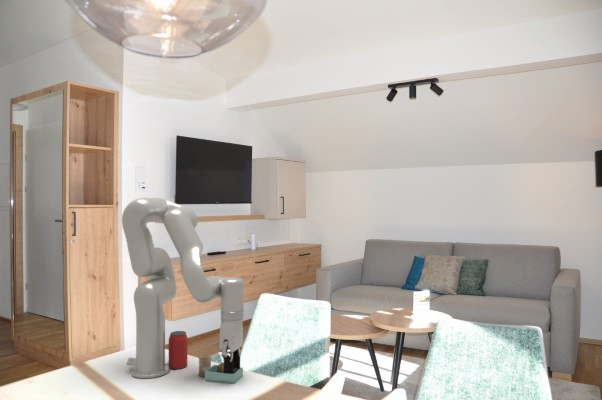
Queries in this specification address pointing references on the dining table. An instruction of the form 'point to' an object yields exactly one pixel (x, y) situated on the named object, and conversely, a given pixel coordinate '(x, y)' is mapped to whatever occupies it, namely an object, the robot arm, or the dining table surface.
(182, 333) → the beer can
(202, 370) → the beech dowel
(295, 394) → the dining table surface
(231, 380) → the tote
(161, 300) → the robot arm
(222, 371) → the walnut cube
